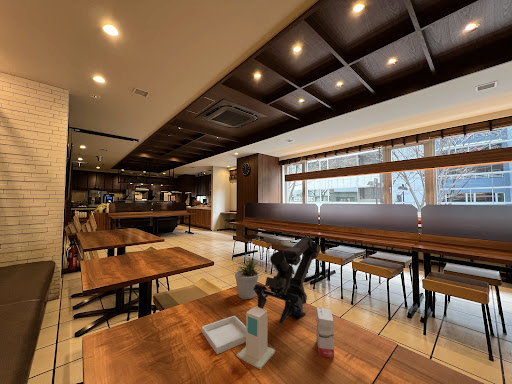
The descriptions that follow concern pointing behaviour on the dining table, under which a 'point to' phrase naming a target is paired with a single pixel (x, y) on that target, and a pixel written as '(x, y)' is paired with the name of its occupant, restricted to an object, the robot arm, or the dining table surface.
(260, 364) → the board
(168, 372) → the dining table surface
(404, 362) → the dining table surface
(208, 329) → the parts tray
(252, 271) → the potted plant
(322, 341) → the ink box
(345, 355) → the dining table surface
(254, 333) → the carton
